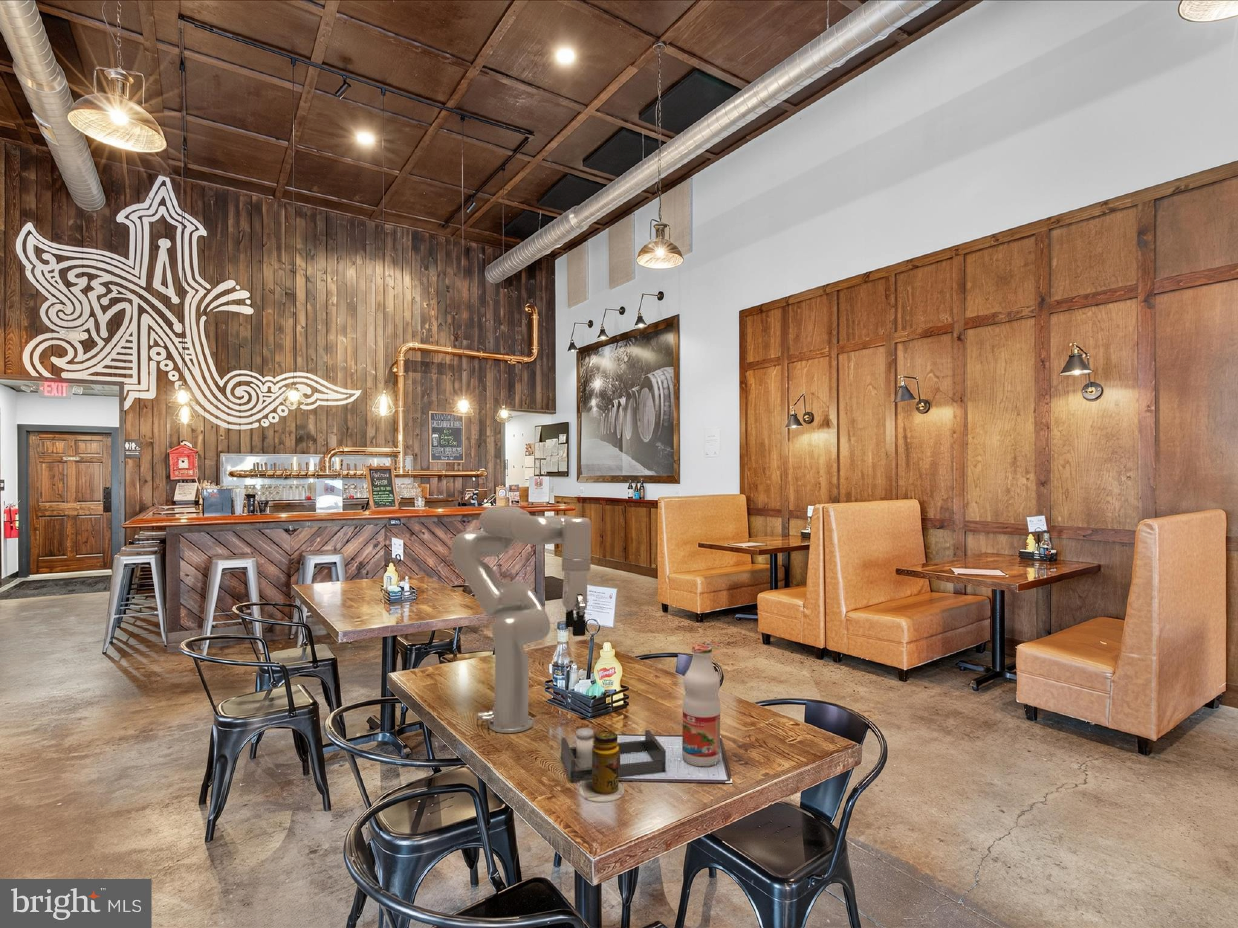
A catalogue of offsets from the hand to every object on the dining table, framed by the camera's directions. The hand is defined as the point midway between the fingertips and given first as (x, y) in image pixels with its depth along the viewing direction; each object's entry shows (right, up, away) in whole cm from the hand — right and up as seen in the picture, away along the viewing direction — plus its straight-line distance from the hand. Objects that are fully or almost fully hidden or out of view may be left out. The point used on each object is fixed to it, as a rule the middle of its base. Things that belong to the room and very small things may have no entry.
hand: (575, 631), depth 163 cm
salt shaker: (+3, -30, -9) cm, 32 cm away
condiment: (+7, -30, -22) cm, 38 cm away
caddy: (+10, -30, -10) cm, 33 cm away
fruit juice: (+32, -31, -6) cm, 45 cm away
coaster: (+8, -30, -23) cm, 38 cm away
